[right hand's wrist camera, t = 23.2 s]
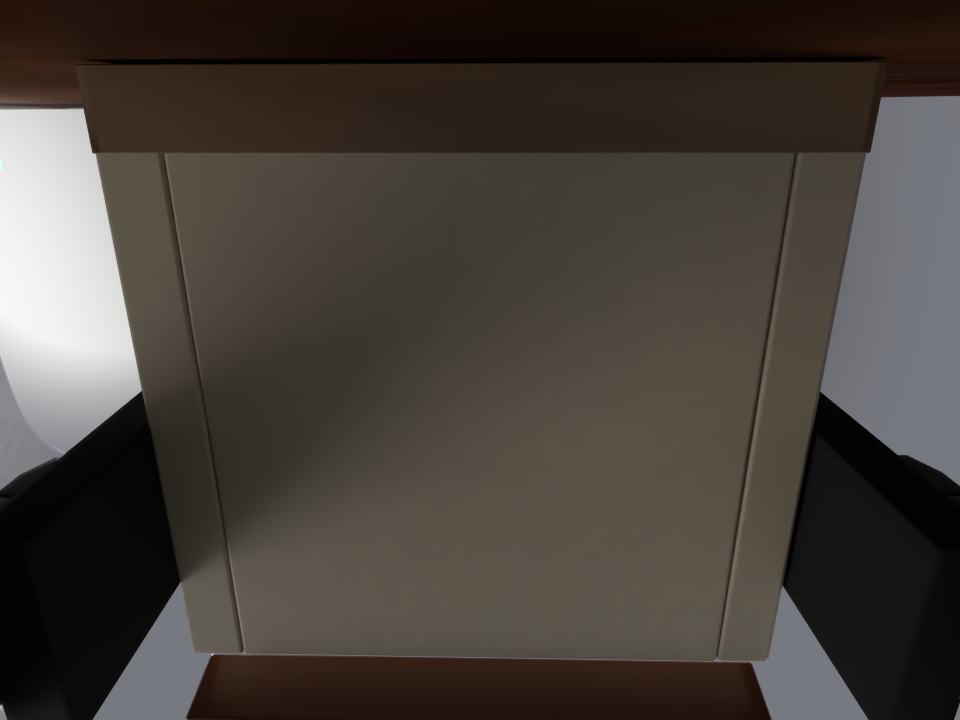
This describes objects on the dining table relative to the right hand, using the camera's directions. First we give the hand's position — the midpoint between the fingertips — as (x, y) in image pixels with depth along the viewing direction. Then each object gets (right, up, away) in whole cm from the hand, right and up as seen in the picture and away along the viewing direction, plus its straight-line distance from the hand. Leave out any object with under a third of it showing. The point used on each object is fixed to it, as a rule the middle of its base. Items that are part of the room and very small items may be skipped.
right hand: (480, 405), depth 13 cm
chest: (0, +7, 0) cm, 7 cm away
